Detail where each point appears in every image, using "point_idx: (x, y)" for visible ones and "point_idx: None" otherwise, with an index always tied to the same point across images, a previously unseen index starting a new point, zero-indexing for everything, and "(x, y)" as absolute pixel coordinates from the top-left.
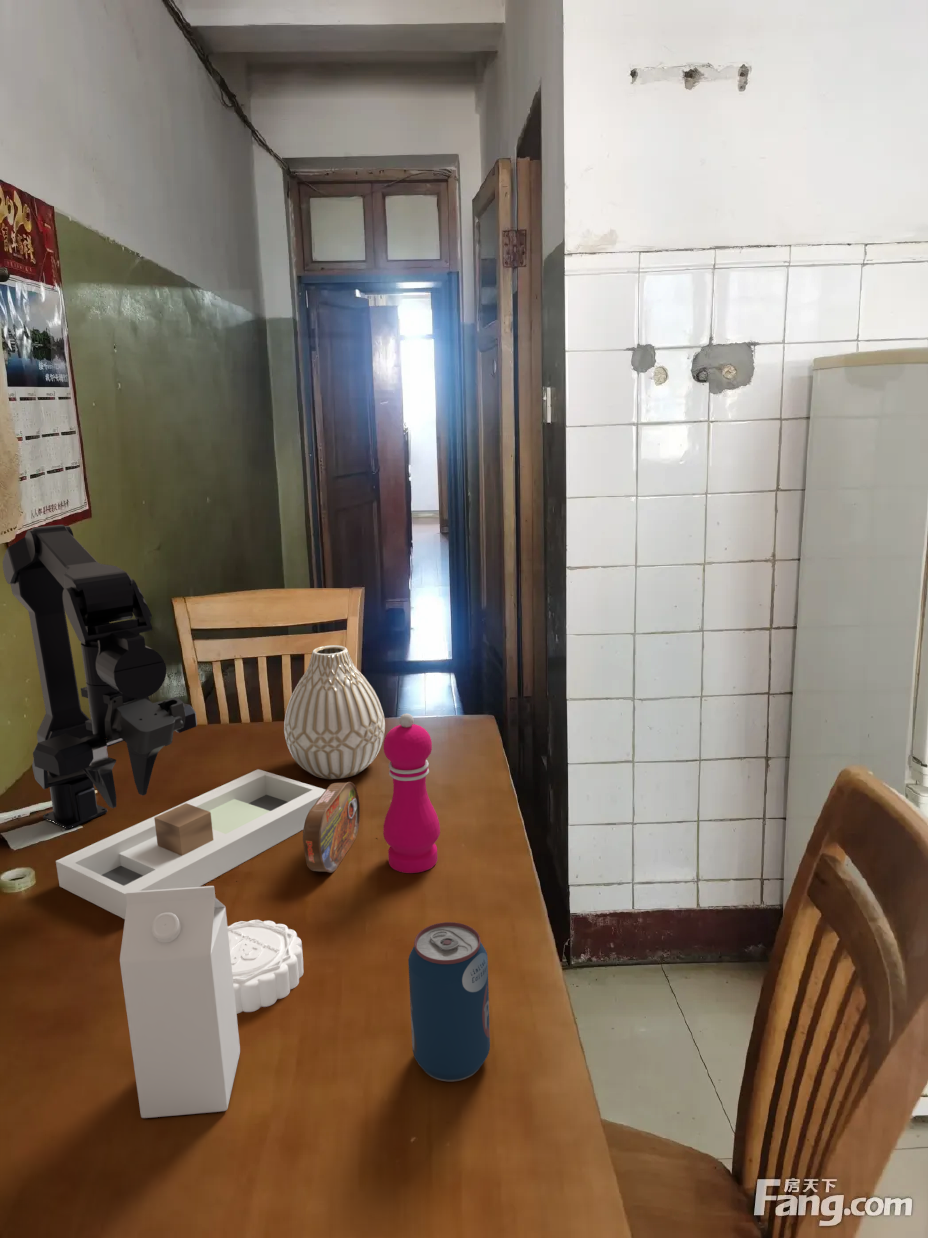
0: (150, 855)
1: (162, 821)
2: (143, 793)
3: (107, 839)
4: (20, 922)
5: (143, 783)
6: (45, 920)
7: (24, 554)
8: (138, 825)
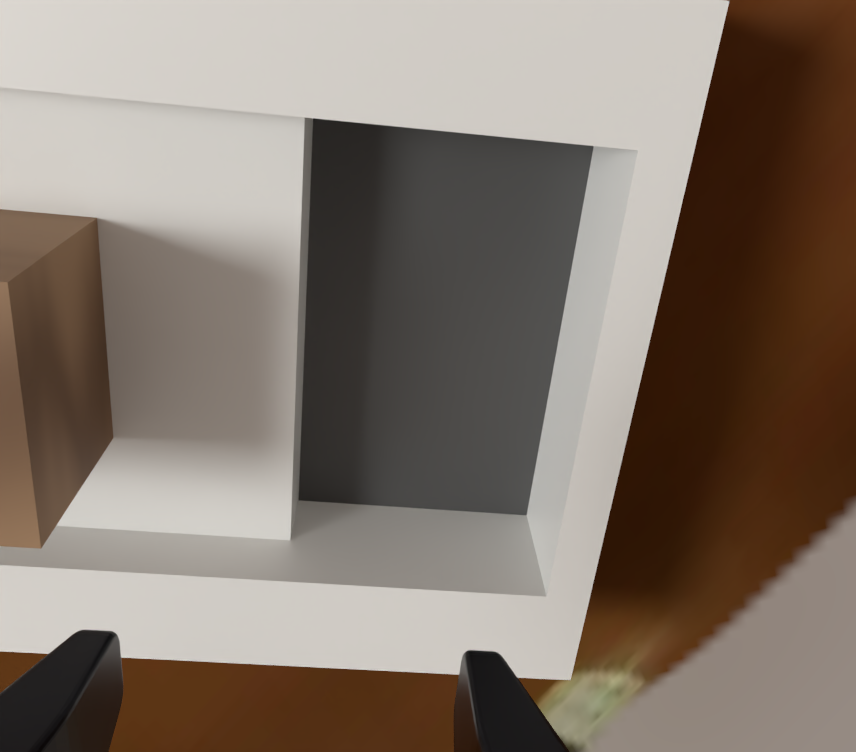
0: (208, 389)
1: (32, 466)
2: (110, 644)
3: (285, 650)
4: (822, 495)
5: (53, 739)
6: (778, 421)
7: None
8: None
